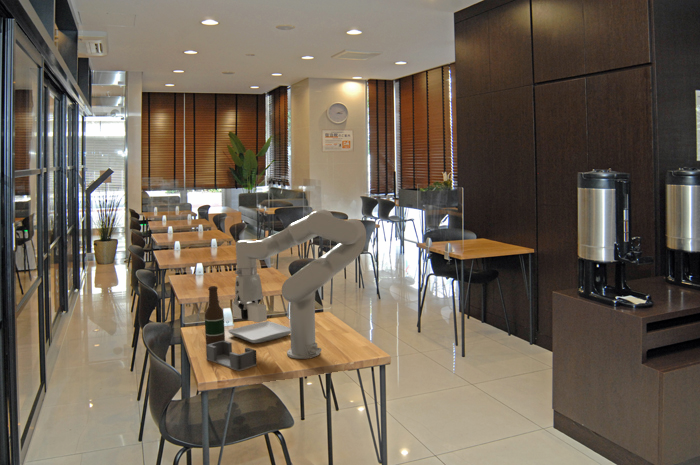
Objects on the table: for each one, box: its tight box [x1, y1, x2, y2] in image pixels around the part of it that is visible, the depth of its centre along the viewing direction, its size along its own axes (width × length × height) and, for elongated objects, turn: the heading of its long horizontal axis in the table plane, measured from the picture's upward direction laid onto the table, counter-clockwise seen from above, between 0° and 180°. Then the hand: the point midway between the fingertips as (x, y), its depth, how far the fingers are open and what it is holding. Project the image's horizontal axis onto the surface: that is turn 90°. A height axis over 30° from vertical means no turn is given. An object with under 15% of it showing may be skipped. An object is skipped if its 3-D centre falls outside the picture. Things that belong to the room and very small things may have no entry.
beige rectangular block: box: [231, 301, 268, 323], centre depth 216 cm, size 16×4×6 cm, turn 48°
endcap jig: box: [205, 339, 258, 372], centre depth 205 cm, size 20×8×6 cm, turn 48°
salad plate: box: [227, 320, 290, 344], centre depth 239 cm, size 21×21×3 cm
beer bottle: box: [204, 285, 226, 346], centre depth 228 cm, size 8×8×24 cm
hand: (249, 317), depth 217 cm, fingers closed on beige rectangular block, 4 cm apart
